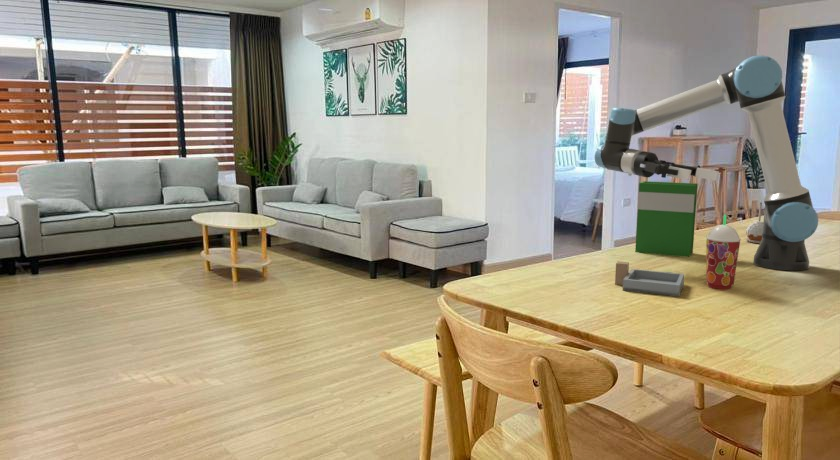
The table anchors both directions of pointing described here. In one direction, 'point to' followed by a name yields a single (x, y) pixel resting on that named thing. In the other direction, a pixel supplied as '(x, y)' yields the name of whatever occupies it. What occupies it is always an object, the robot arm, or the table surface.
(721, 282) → the smoothie
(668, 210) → the hardback book
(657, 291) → the tray
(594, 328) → the table surface
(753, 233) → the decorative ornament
